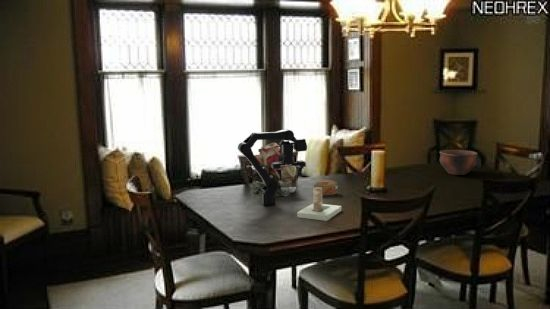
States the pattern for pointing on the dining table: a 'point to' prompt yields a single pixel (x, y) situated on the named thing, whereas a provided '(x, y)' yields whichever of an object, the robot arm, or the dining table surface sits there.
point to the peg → (317, 199)
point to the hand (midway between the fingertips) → (288, 179)
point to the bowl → (458, 161)
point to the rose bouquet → (287, 173)
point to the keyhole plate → (324, 215)
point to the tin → (328, 187)
